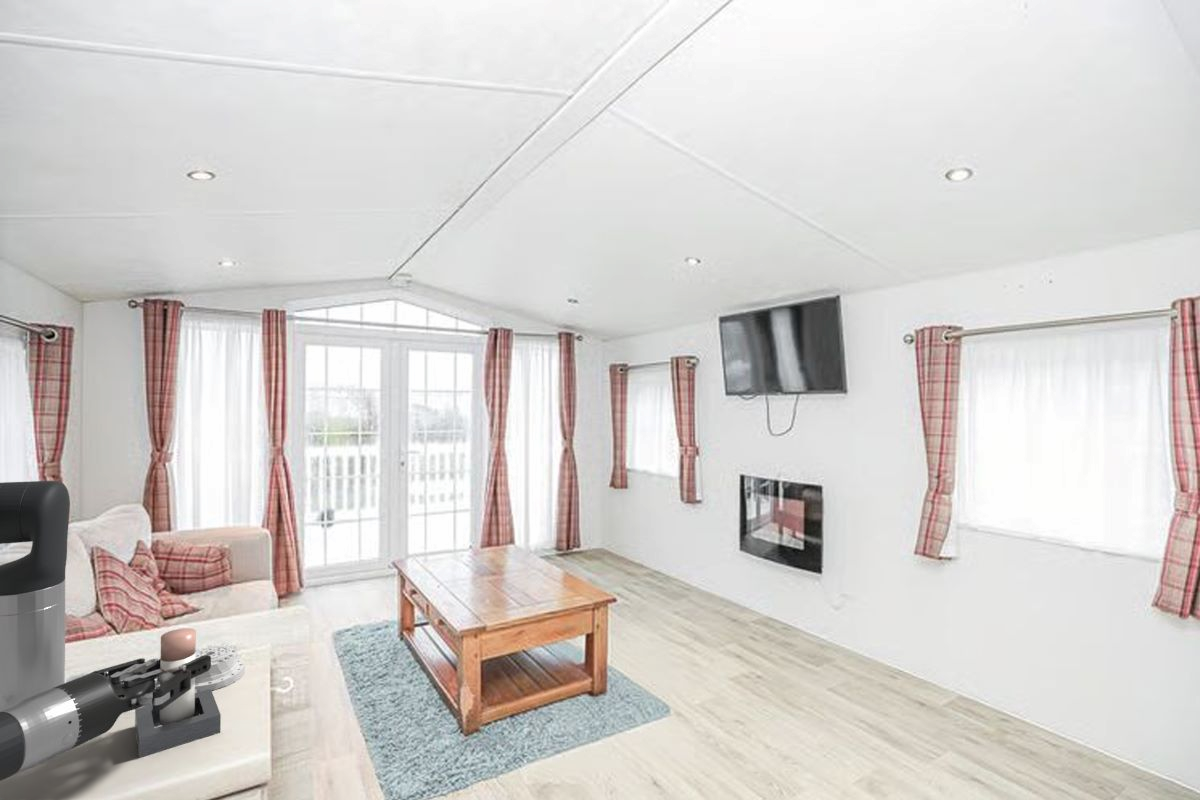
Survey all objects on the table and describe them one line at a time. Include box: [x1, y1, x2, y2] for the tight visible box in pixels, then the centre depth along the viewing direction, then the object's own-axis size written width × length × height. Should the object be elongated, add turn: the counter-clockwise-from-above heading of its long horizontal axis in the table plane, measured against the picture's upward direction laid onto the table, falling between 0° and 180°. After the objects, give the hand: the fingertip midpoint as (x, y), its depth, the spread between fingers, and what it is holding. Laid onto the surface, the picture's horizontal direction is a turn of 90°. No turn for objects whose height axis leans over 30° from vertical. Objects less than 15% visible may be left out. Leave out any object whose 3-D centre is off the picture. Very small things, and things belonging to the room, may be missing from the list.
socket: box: [134, 689, 222, 759], centre depth 82 cm, size 9×9×2 cm
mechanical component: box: [195, 644, 246, 691], centre depth 97 cm, size 10×4×10 cm
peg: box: [159, 627, 197, 726], centre depth 82 cm, size 4×4×12 cm
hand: (197, 659), depth 85 cm, fingers closed on peg, 4 cm apart
